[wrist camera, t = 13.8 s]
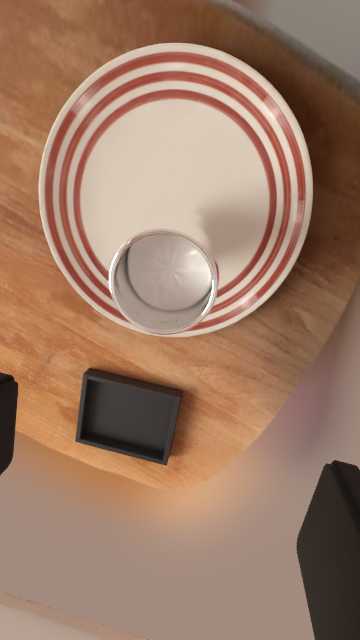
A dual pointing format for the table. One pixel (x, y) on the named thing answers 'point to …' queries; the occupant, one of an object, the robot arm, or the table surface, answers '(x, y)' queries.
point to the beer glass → (166, 274)
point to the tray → (127, 415)
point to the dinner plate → (177, 172)
